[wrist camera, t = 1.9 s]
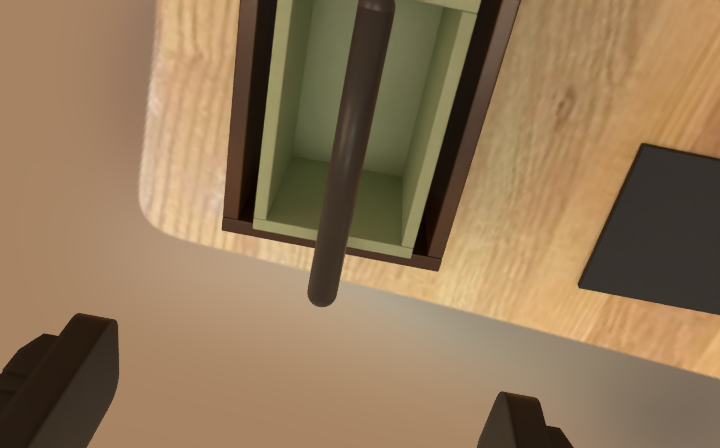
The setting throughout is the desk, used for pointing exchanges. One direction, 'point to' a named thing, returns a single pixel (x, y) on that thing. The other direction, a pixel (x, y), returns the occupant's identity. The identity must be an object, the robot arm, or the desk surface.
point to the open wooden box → (454, 154)
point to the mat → (662, 233)
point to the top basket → (357, 123)
